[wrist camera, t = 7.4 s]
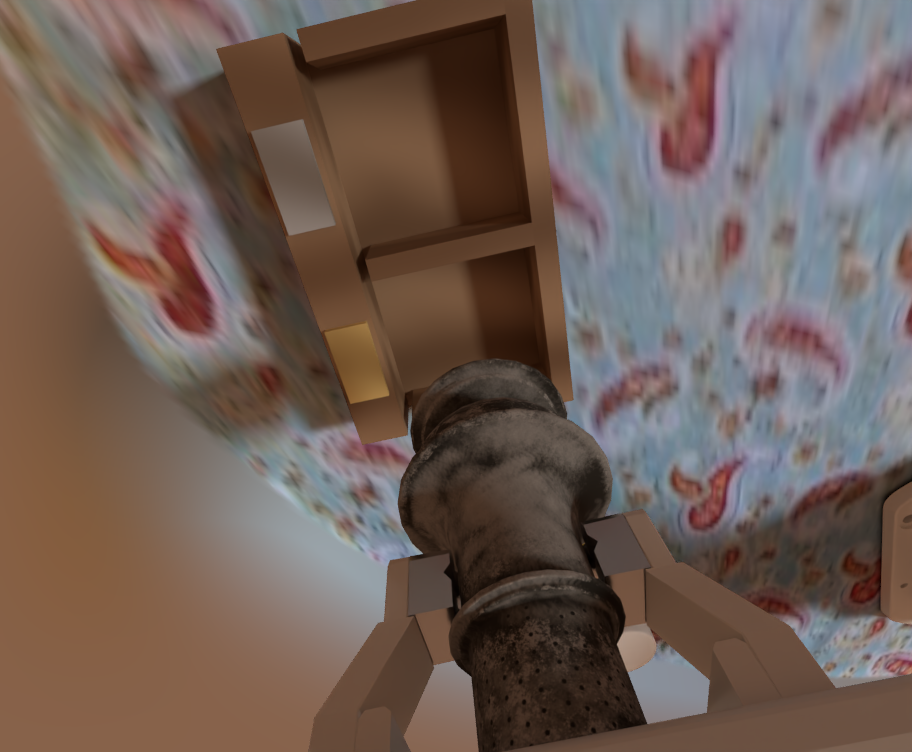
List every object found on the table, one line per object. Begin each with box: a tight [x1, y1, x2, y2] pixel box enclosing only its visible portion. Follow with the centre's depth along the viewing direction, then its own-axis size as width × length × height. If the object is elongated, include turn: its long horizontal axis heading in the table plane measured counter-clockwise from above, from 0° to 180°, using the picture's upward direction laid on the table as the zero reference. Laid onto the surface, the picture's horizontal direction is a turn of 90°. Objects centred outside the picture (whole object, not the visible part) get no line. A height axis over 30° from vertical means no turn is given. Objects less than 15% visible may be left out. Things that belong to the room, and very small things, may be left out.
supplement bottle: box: [582, 543, 656, 672], centre depth 32 cm, size 5×5×8 cm
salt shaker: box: [398, 358, 647, 752], centre depth 11 cm, size 6×6×12 cm
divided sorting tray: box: [216, 0, 573, 445], centre depth 23 cm, size 18×12×4 cm, turn 12°
